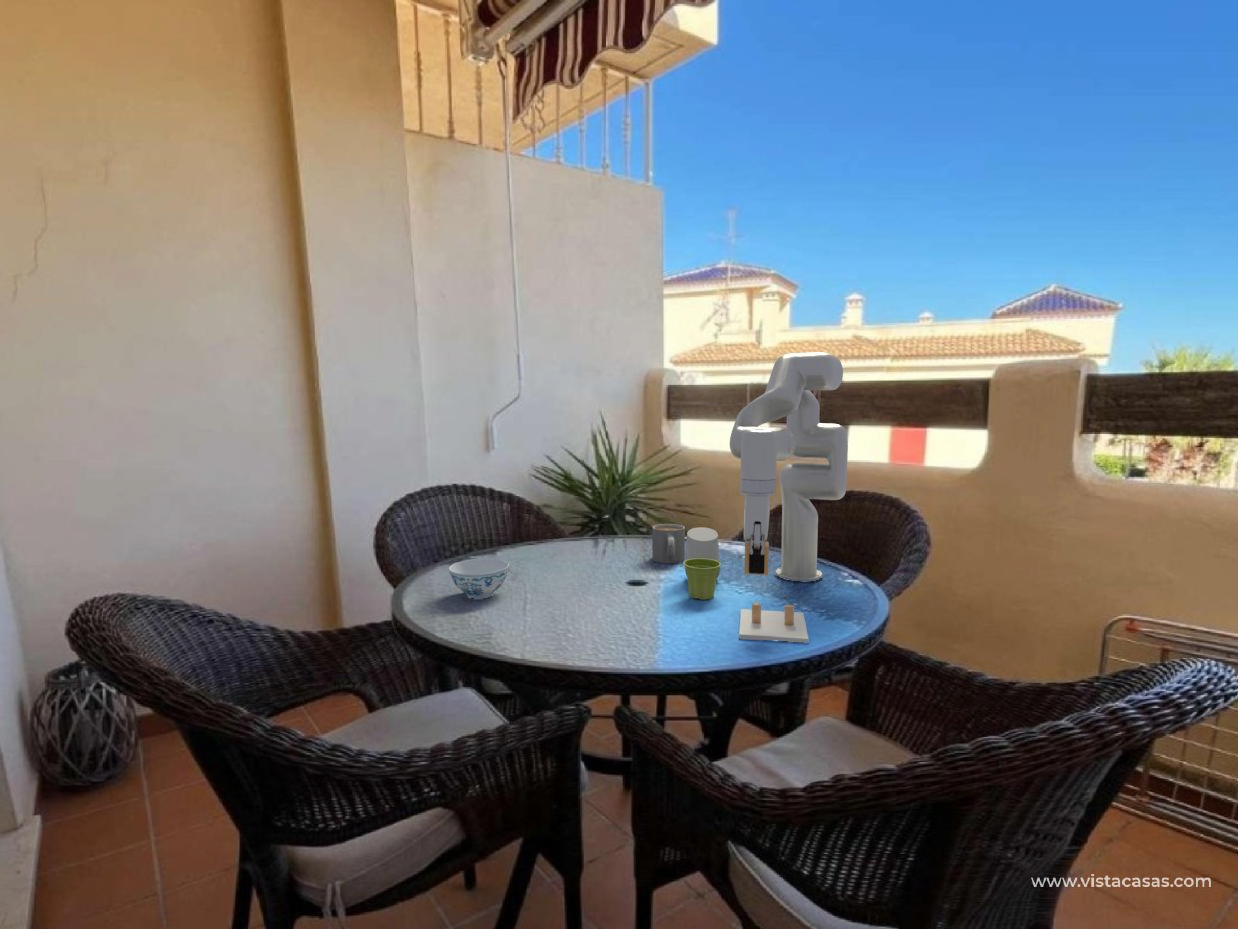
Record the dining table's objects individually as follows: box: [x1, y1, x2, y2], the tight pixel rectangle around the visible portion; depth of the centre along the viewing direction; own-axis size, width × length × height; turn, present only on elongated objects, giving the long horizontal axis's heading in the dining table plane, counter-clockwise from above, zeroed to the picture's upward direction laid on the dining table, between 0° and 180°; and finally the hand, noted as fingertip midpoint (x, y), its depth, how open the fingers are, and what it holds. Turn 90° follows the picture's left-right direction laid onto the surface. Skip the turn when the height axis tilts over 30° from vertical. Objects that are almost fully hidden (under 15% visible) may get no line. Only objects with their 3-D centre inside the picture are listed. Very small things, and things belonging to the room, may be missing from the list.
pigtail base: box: [738, 602, 809, 643], centre depth 143 cm, size 16×14×5 cm
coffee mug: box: [651, 523, 686, 564], centre depth 200 cm, size 13×10×10 cm
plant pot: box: [682, 558, 722, 601], centre depth 165 cm, size 9×9×9 cm
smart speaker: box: [684, 526, 721, 580], centre depth 179 cm, size 10×9×14 cm
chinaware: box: [448, 558, 510, 600], centre depth 168 cm, size 15×15×8 cm
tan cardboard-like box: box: [743, 540, 770, 576], centre depth 142 cm, size 5×5×6 cm
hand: (756, 568), depth 143 cm, fingers closed on tan cardboard-like box, 4 cm apart
